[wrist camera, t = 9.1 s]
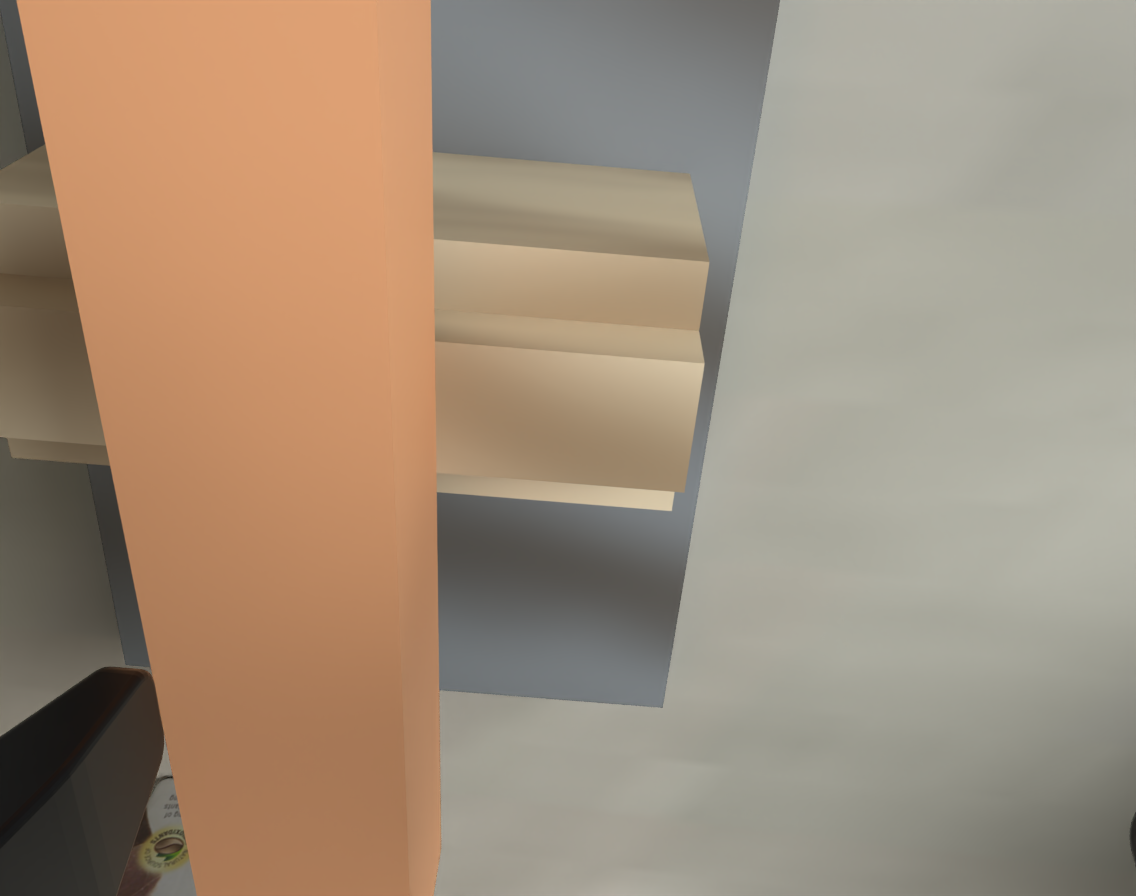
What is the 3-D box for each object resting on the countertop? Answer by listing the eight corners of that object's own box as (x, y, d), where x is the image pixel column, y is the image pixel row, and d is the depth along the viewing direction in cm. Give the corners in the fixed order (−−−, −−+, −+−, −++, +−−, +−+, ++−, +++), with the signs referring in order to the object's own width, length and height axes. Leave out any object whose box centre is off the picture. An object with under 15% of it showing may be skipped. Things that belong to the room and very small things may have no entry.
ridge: (660, 676, 24) (674, 906, 19) (142, 635, 24) (16, 854, 19) (839, -434, 14) (971, -576, 9) (-61, -515, 14) (-451, -706, 9)
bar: (440, 848, 19) (414, 1013, 16) (272, 837, 19) (218, 1000, 16) (424, -487, 9) (353, -601, 7) (88, -508, 9) (-111, -629, 7)
